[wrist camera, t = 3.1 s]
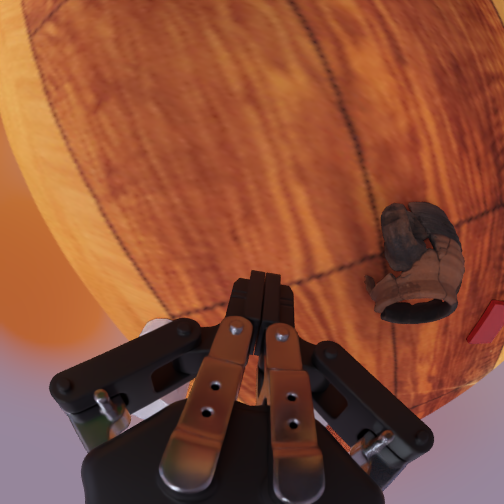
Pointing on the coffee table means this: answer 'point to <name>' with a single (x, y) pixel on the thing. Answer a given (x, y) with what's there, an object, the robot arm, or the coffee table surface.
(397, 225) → the dark brown curved piece
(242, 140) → the coffee table surface
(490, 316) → the spatula
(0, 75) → the coffee table surface
